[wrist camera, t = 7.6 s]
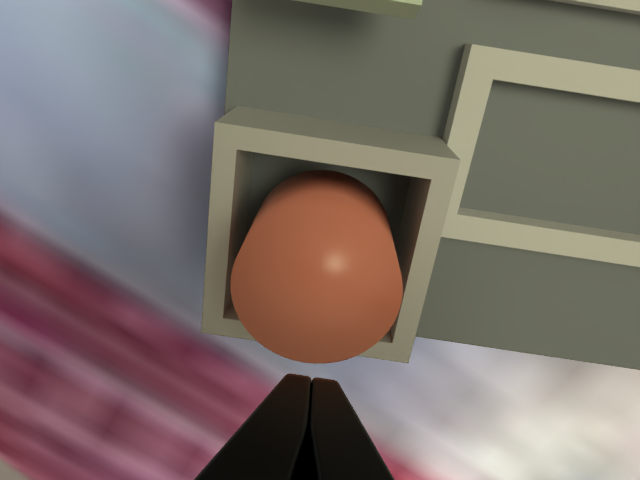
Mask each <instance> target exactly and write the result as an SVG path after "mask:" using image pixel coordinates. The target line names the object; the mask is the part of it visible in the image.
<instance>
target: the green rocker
mask: <svg viewBox="0 0 640 480" xmlns="http://www.w3.org/2000/svg"><path fill="white" fill-rule="evenodd" d="M294 1H301V2H307V3H313V4H320V5H326V6H332V7H338V8H345V9H351V10H357V11H364V12H370V13H376V14H383V15H389V16H395V17H401V18H408V19H414V18H415V16H416V14H417V12H418V11H419V9H420V7H421V6H422V1H423V0H294Z"/></svg>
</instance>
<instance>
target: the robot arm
mask: <svg viewBox="0 0 640 480" xmlns="http://www.w3.org/2000/svg"><path fill="white" fill-rule="evenodd" d="M194 480H394V478H393V476H392V475H391V473H390V471H389V470H388V468H387V466H386V464H385V463H384V461H383V459H382V457H381V456H380V454H379V452H378V451H377V449H376V447H375V445H374V444H373V442H372V440H371V438H370V437H369V435H368V433H367V431H366V430H365V428H364V426H363V425H362V423H361V421H360V419H359V418H358V416H357V414H356V412H355V411H354V409H353V407H352V406H351V404H350V402H349V400H348V399H347V397H346V395H345V393H344V392H343V390H342V388H341V387H340V385H339V383H338V382H337V381H335V380H330V379H323V378H314V379H313V380H312V382H311V378H310V377H308V376H303V375H296V374H287V375H286V376H285V377H284V378H283V379H282V380H281V381H280V382H279V383H278V384H277V386H276V387H275V388H274V389H273V390H272V391H271V392H270V394H269V395H268V396H267V397H266V398H265V399H264V400H263V402H262V403H261V404H260V405H259V406H258V407H257V408H256V410H255V411H254V412H253V413H252V414H251V415H250V416H249V418H248V419H247V420H246V421H245V422H244V423H243V424H242V426H241V427H240V428H239V429H238V430H237V431H236V432H235V434H234V435H233V436H232V437H231V438H230V439H229V440H228V442H227V443H226V444H225V445H224V446H223V447H222V448H221V450H220V451H219V452H218V453H217V454H216V455H215V456H214V458H213V459H212V460H211V461H210V462H209V463H208V464H207V466H206V467H205V468H204V469H203V470H202V471H201V472H200V474H199V475H198V476H197V477H196V478H195V479H194Z"/></svg>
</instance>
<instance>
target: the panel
mask: <svg viewBox="0 0 640 480" xmlns="http://www.w3.org/2000/svg"><path fill="white" fill-rule="evenodd" d="M311 170H332V171H337V172H341V173H344V174H347V175H350V176H352V177H354V178H356V179H358V180H359V181H361V182H362V183H364V184H365V185H366V186H367V187H369V188H370V189H371V190H372V191H373V192H374V193H375V195H376V196H377V197H378V198H379V200H380V202H381V203H382V205H383V207H384V209H385V211H386V214H387V217H388V221H389V225H390V229H391V233H392V237H393V242H394V246H395V250H396V254H397V258H398V263H399V267H400V271H401V276H402V283H403V295H402V302H401V306H400V309H399V313H398V315H397V317H396V319H395V321H394V323H393V325H392V326H391V328H390V329H389V331H388V332H387V333H386V334H385V336H384V337H383V338H382V339H381V340H380V341H379V342H377V343H376V344H375V345H374V346H372V347H371V348H369V349H368V350H366V351H365V352H363V353H361V354H359V355H357V356H363V357H369V358H376V359H383V360H390V361H396V362H403V363H408V362H409V359H410V355H411V351H412V347H413V343H414V339H415V336H416V337H423V338H430V339H436V340H443V341H450V342H457V343H463V344H470V345H477V346H483V347H490V348H497V349H503V350H510V351H517V352H524V353H530V354H537V355H544V356H550V357H557V358H564V359H570V360H577V361H584V362H591V363H597V364H604V365H611V366H617V367H624V368H631V369H637V370H640V0H423V1H422V6H421V7H420V9H419V11H418V12H417V14H416V16H415V18H414V19H408V18H401V17H395V16H389V15H383V14H376V13H370V12H364V11H357V10H351V9H345V8H338V7H332V6H326V5H320V4H313V3H307V2H301V1H294V0H232V12H231V26H230V40H229V54H228V68H227V83H226V97H225V111H224V116H223V117H221V118H220V119H218V120H217V121H215V124H214V139H213V155H212V171H211V186H210V202H209V218H208V234H207V249H206V265H205V281H204V296H203V312H202V328H201V333H208V334H214V335H221V336H228V337H235V338H241V339H248V340H255V341H257V340H256V339H255V338H254V337H253V336H251V335H250V333H249V332H248V331H247V330H246V328H245V327H244V326H243V324H242V323H241V321H240V319H239V318H238V315H237V313H236V311H235V308H234V305H233V301H232V297H231V274H232V268H233V265H234V262H235V259H236V257H237V255H238V253H239V251H240V249H241V247H242V244H243V242H244V240H245V238H246V236H247V234H248V232H249V230H250V228H251V226H252V224H253V221H254V219H255V217H256V215H257V213H258V211H259V209H260V207H261V205H262V203H263V201H264V200H265V198H266V197H267V195H268V194H269V193H270V192H271V191H272V190H273V189H274V188H275V187H276V186H277V185H278V184H279V183H281V182H282V181H284V180H286V179H287V178H289V177H291V176H293V175H296V174H299V173H302V172H306V171H311Z"/></svg>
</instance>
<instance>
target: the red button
mask: <svg viewBox="0 0 640 480" xmlns="http://www.w3.org/2000/svg"><path fill="white" fill-rule="evenodd" d="M402 295H403V283H402V276H401V271H400V267H399V263H398V258H397V254H396V250H395V246H394V242H393V237H392V233H391V229H390V225H389V221H388V217H387V214H386V211H385V209H384V207H383V205H382V203H381V202H380V200H379V198H378V197H377V196H376V195H375V193H374V192H373V191H372V190H371V189H370V188H369V187H367V186H366V185H365V184H364V183H362V182H361V181H359V180H358V179H356V178H354V177H352V176H350V175H347V174H344V173H341V172H337V171H332V170H311V171H306V172H302V173H299V174H296V175H293V176H291V177H289V178H287V179H286V180H284V181H282V182H281V183H279V184H278V185H277V186H276V187H275V188H274V189H273V190H272V191H271V192H270V193H269V194H268V195H267V197H266V198H265V200H264V201H263V203H262V205H261V207H260V209H259V211H258V213H257V215H256V217H255V219H254V221H253V224H252V226H251V228H250V230H249V232H248V234H247V236H246V238H245V240H244V242H243V244H242V247H241V249H240V251H239V253H238V255H237V257H236V259H235V262H234V265H233V268H232V274H231V297H232V301H233V305H234V308H235V311H236V313H237V315H238V318H239V319H240V321H241V323H242V324H243V326H244V327H245V328H246V330H247V331H248V332H249V333H250V335H251V336H253V337H254V338H255V339H256V340H257V341H258V342H259V343H260V344H262V345H263V346H264V347H266V348H267V349H269V350H271V351H272V352H274V353H276V354H278V355H280V356H283V357H285V358H288V359H291V360H295V361H300V362H305V363H332V362H338V361H342V360H346V359H349V358H352V357H355V356H357V355H359V354H361V353H363V352H365V351H366V350H368V349H369V348H371V347H372V346H374V345H375V344H376V343H377V342H379V341H380V340H381V339H382V338H383V337H384V336H385V334H386V333H387V332H388V331H389V329H390V328H391V326H392V325H393V323H394V321H395V319H396V317H397V315H398V313H399V309H400V306H401V302H402Z"/></svg>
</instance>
